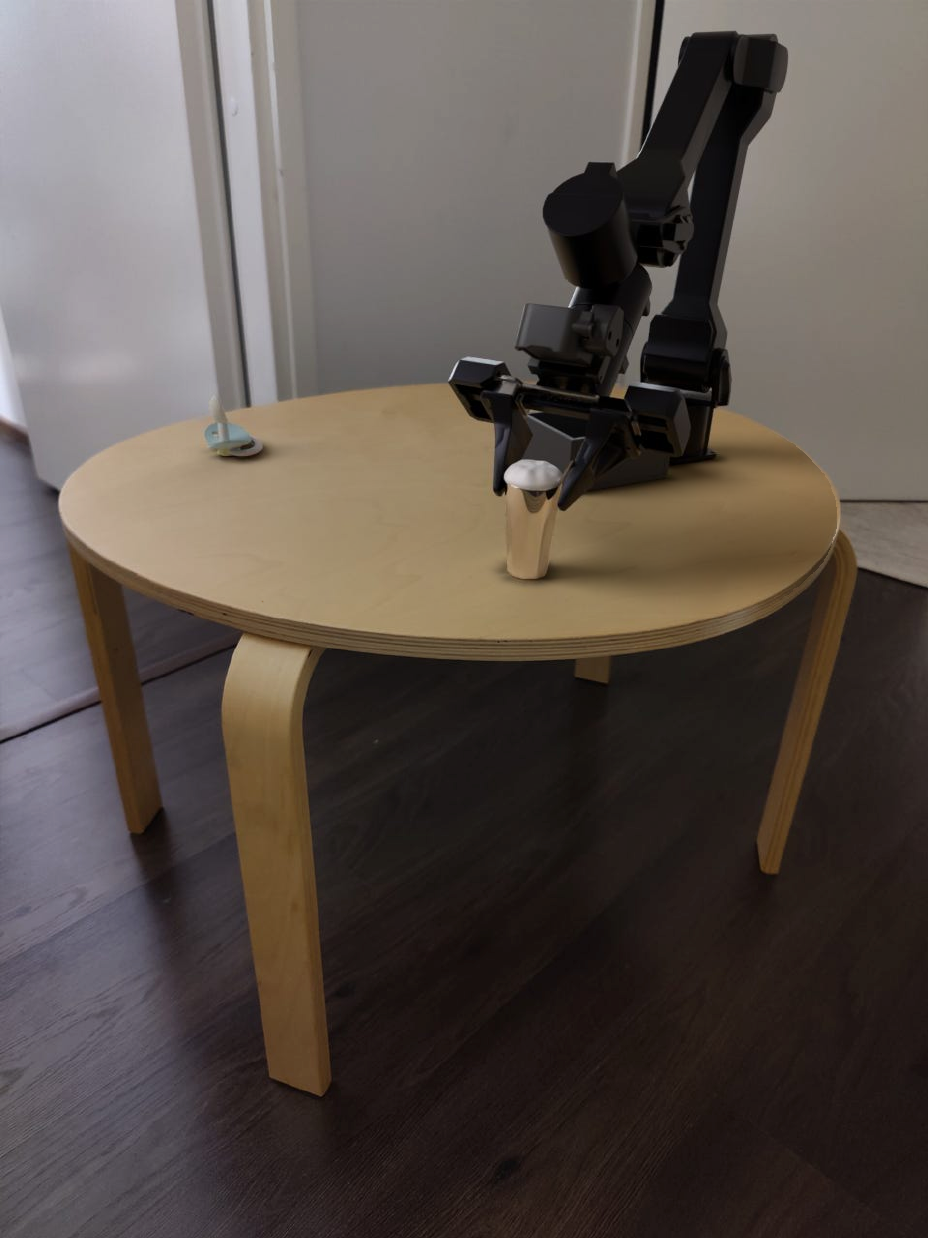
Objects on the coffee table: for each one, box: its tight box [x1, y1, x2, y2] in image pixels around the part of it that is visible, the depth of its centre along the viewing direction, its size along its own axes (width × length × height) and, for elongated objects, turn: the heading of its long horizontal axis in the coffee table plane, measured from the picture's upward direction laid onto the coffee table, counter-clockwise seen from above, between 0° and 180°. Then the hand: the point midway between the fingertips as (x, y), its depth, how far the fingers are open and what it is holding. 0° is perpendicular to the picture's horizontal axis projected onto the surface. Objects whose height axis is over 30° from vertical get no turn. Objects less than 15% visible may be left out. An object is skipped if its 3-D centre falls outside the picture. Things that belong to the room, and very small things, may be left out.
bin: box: [521, 410, 670, 492], centre depth 90 cm, size 12×10×6 cm
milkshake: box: [504, 459, 573, 580], centre depth 67 cm, size 4×5×10 cm
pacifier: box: [203, 394, 263, 457], centre depth 94 cm, size 7×6×6 cm
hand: (527, 501), depth 66 cm, fingers closed on milkshake, 5 cm apart
